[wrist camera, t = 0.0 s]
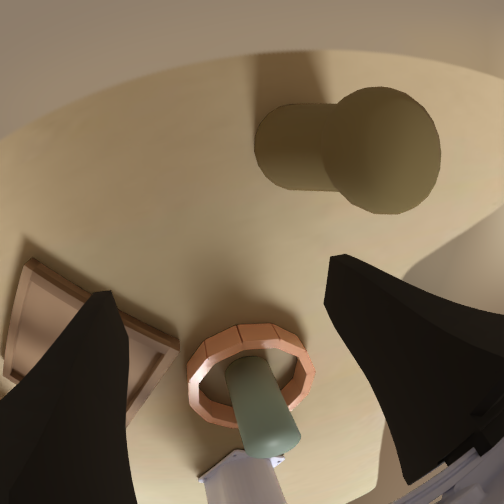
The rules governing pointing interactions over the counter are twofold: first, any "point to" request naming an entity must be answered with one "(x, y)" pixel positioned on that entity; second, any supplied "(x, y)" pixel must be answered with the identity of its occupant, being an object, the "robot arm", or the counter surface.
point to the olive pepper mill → (354, 149)
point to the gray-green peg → (260, 409)
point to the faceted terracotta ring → (235, 343)
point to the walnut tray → (58, 317)
